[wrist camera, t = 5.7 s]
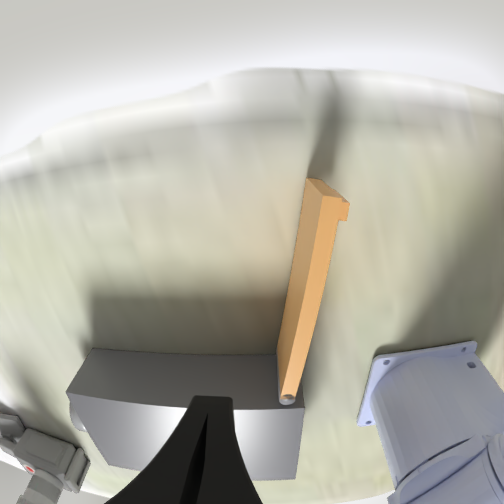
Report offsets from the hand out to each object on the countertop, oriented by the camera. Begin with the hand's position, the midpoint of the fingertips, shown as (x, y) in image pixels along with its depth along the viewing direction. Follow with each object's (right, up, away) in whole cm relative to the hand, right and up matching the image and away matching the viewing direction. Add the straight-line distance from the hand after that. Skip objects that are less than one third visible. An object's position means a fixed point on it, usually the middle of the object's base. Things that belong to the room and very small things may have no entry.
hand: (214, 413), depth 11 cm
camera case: (-3, -5, +12) cm, 14 cm away
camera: (-25, -17, +18) cm, 35 cm away
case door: (+4, +4, +8) cm, 10 cm away
